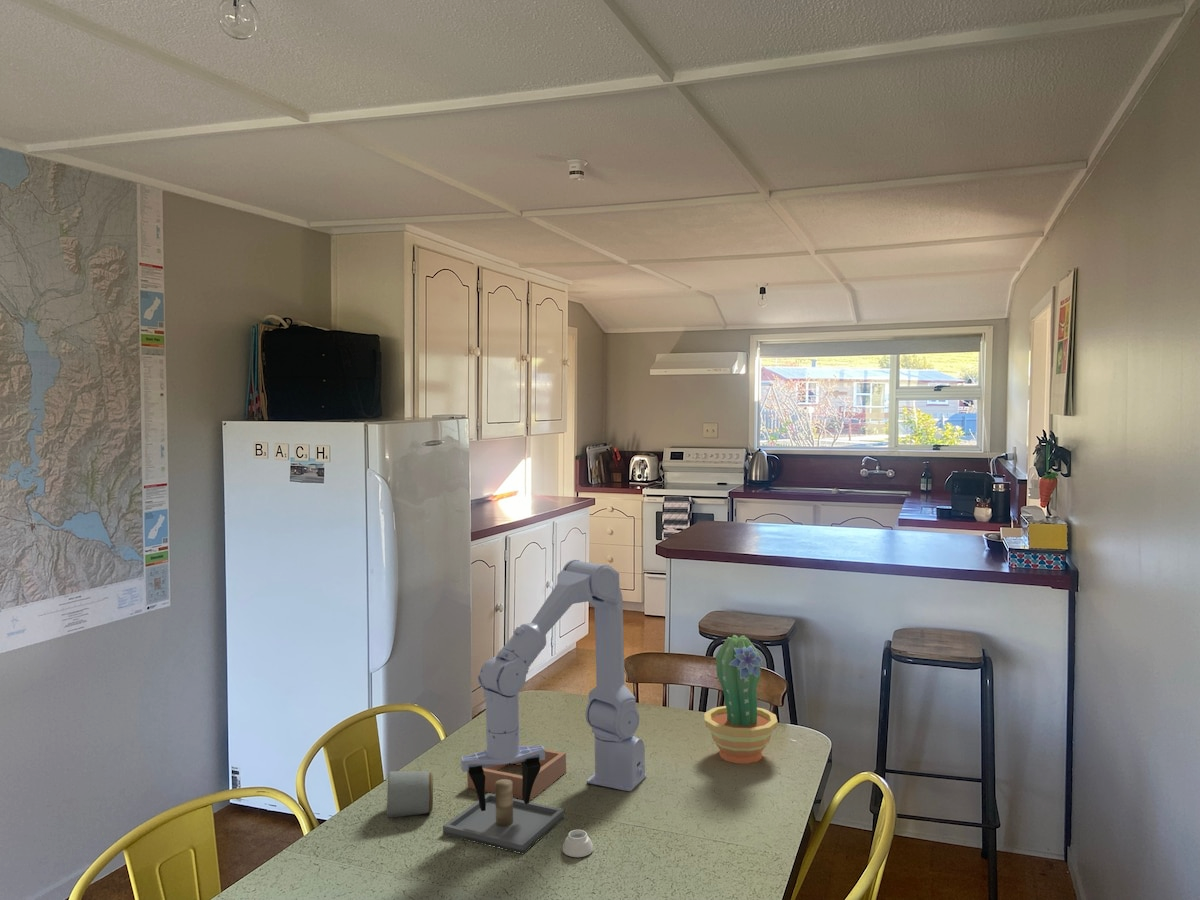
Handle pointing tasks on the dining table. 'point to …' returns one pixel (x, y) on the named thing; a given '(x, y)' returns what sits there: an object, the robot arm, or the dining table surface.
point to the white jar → (577, 844)
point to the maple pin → (504, 802)
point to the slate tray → (515, 837)
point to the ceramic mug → (409, 793)
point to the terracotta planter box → (546, 776)
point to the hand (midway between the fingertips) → (504, 804)
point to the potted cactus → (740, 704)
